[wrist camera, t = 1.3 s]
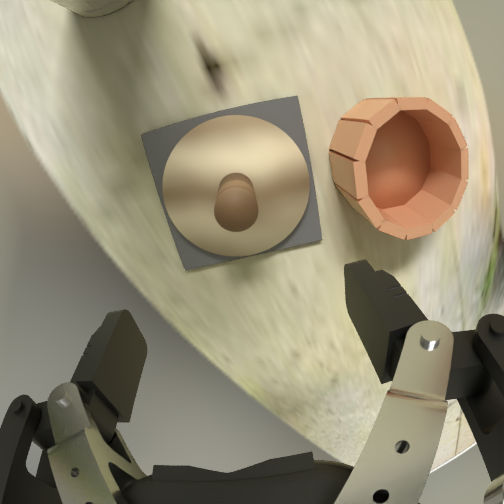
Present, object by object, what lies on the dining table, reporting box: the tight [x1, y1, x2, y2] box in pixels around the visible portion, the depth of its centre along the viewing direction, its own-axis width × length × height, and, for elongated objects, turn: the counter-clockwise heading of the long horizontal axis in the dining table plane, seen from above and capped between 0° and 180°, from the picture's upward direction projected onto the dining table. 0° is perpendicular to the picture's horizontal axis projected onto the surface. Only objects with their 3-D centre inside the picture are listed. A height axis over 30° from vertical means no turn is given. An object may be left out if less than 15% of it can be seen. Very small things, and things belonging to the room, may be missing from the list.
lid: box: [162, 115, 310, 257], centre depth 23 cm, size 13×13×7 cm
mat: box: [141, 96, 322, 270], centre depth 26 cm, size 14×14×1 cm
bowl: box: [329, 97, 468, 240], centre depth 23 cm, size 12×12×6 cm
